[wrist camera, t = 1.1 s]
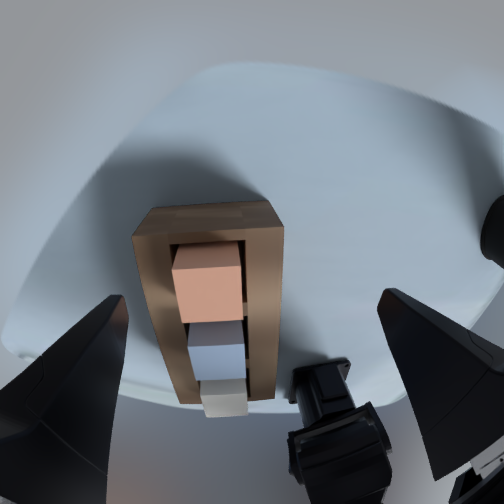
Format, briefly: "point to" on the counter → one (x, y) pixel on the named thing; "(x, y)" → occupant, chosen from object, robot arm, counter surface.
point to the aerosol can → (494, 233)
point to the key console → (252, 279)
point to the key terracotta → (208, 281)
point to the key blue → (217, 350)
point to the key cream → (224, 397)
